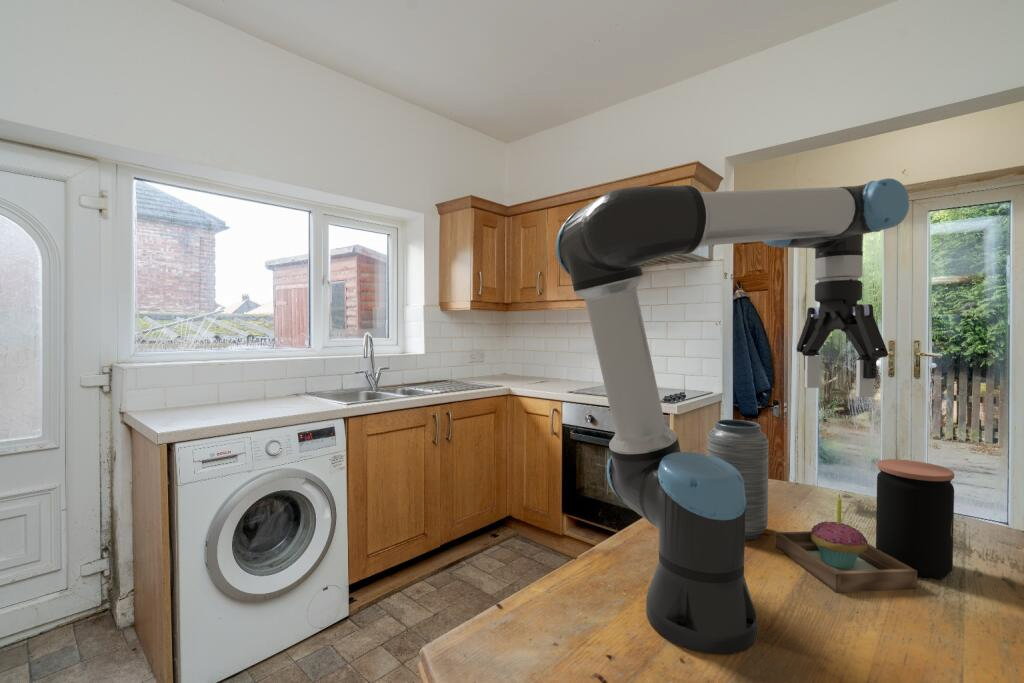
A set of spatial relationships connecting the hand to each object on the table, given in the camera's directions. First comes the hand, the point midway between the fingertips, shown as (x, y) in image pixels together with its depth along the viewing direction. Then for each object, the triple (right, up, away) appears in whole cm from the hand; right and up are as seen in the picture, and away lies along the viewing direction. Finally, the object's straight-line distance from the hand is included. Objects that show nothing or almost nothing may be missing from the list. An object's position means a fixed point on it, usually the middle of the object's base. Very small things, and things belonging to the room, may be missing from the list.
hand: (836, 392), depth 92 cm
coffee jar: (+10, -31, -5) cm, 33 cm away
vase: (-15, -31, +10) cm, 35 cm away
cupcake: (-3, -31, -5) cm, 31 cm away
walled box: (-3, -31, -5) cm, 31 cm away
